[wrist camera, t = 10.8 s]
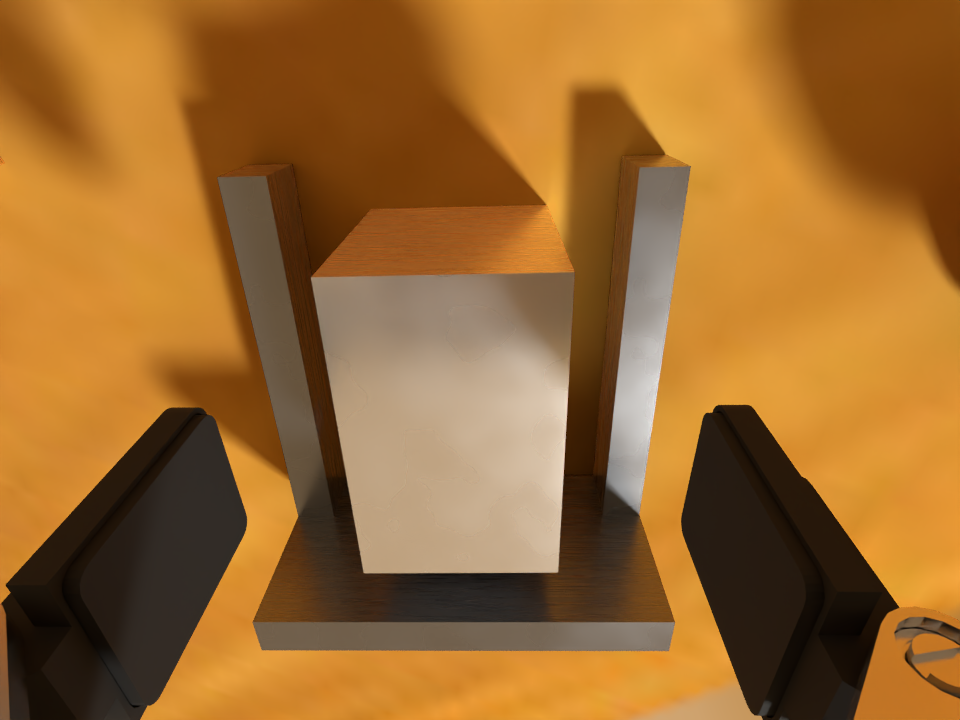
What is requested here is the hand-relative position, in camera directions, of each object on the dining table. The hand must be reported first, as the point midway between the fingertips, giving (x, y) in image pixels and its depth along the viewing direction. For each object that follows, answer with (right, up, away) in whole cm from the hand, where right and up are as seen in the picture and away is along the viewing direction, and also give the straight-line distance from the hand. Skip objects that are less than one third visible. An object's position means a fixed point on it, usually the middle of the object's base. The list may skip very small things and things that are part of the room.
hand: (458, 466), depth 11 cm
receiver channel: (0, +3, +7) cm, 7 cm away
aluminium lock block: (0, +3, +7) cm, 7 cm away
